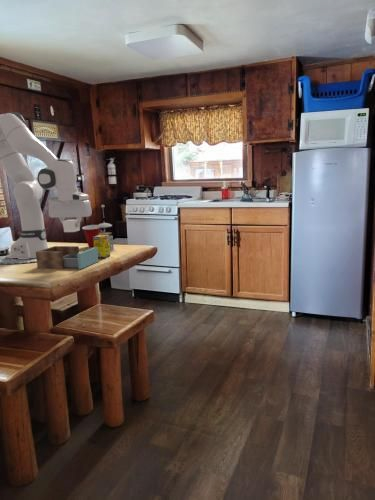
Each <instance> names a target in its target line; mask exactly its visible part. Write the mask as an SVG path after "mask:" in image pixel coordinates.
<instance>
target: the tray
mask: <svg viewBox="0 0 375 500" xmlns="http://www.w3.org/2000/svg"><path fill="white" fill-rule="evenodd" d="M63 262H64V268H75V269H76V268H78V269H79V270H81V269H84V268H87V267H89V266H91V265H93V264H96V263H98V262H99V258H98V252H97V247H90V249H86V250H84V251H81V252H79V253H78V254H72V253H71V254H68V255H66V256H63Z"/></svg>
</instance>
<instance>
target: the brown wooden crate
mask: <svg viewBox="0 0 375 500" xmlns="http://www.w3.org/2000/svg"><path fill="white" fill-rule="evenodd" d="M71 253H72V254H78V253H80V250H79V246H78V245H77V246H76V245H74V246H72V245H71V246H69V245H64V246H63V245H55V246H50V247H48V248H47V249H44V250H40V251H37V252H36V258H35V259H36V266H37V269H54V270H55V269H56V270H57V269H58V270H63V269H65V267H64V262H63V256H66V255H68V254H71Z"/></svg>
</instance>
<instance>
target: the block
mask: <svg viewBox="0 0 375 500" xmlns="http://www.w3.org/2000/svg"><path fill="white" fill-rule="evenodd" d="M77 220H78V219H65V220H64V221H63V224H62V228H63V233H76V232H78V231H81V228H80V227H81V226H80V227H75V223H77Z"/></svg>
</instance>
